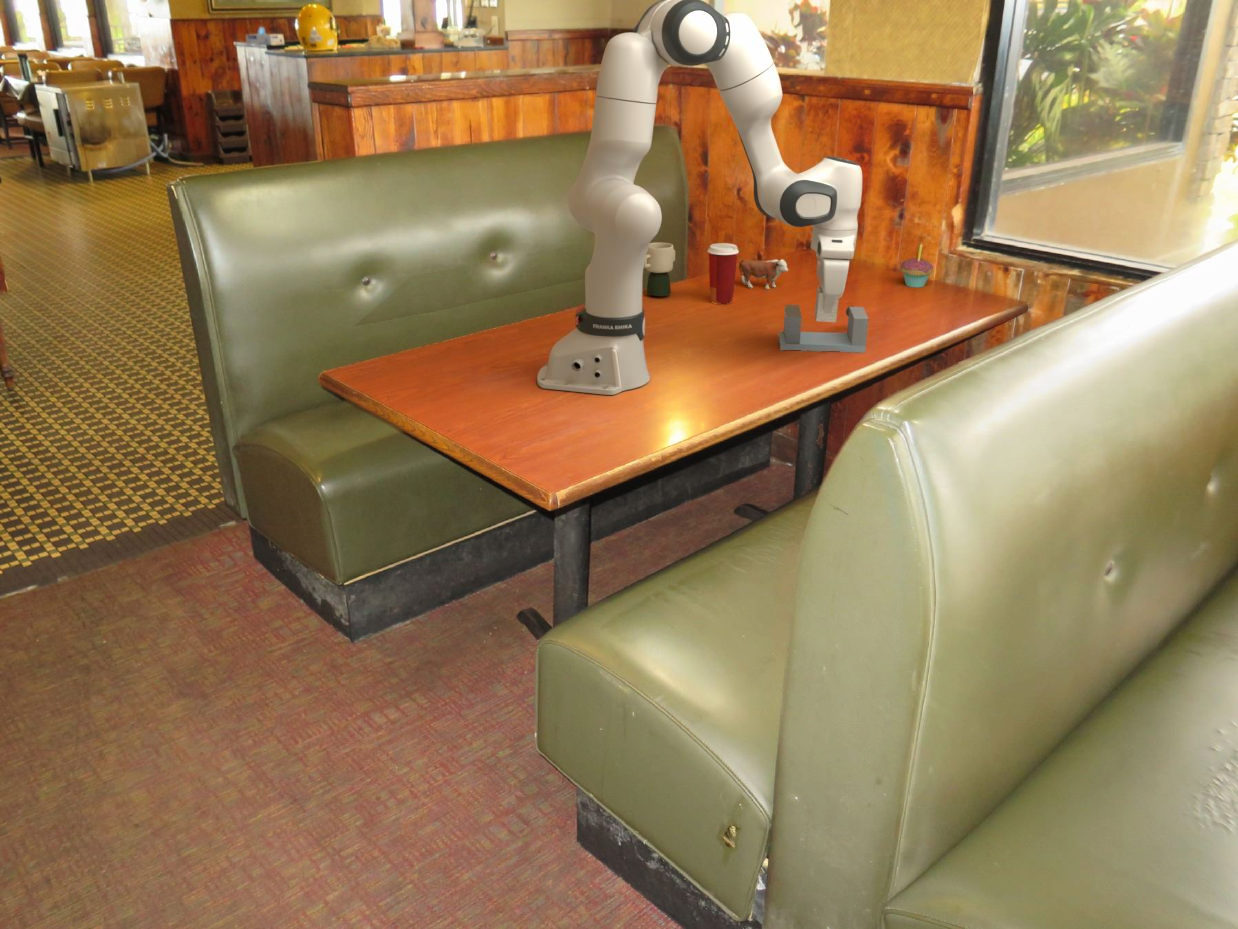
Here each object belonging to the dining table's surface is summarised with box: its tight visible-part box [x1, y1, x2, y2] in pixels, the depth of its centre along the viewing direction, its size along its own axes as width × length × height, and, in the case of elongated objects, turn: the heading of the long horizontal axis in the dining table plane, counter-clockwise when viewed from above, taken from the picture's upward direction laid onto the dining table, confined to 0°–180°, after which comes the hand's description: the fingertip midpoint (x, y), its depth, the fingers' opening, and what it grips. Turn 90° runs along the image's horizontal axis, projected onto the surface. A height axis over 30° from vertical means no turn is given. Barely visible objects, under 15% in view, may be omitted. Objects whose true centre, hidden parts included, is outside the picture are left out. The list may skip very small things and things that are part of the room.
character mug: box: [643, 241, 676, 298], centre depth 254 cm, size 11×7×13 cm, turn 131°
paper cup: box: [707, 242, 740, 305], centre depth 249 cm, size 8×8×14 cm
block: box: [813, 286, 840, 323], centre depth 206 cm, size 4×5×6 cm
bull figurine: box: [738, 258, 789, 290], centre depth 262 cm, size 4×13×8 cm, turn 65°
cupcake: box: [899, 241, 934, 288], centre depth 263 cm, size 9×8×12 cm
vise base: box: [778, 305, 869, 354], centre depth 222 cm, size 18×17×8 cm
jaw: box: [783, 304, 803, 344], centre depth 218 cm, size 3×9×6 cm, turn 174°
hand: (826, 308), depth 207 cm, fingers closed on block, 5 cm apart
